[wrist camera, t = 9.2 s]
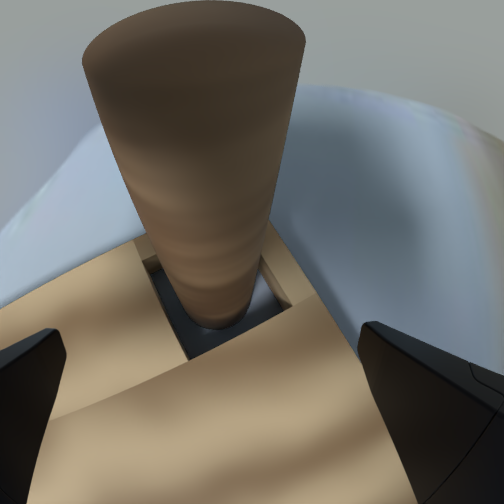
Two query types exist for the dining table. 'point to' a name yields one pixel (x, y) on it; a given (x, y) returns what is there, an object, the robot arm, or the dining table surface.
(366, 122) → the dining table surface
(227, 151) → the stool leg
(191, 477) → the stool top
